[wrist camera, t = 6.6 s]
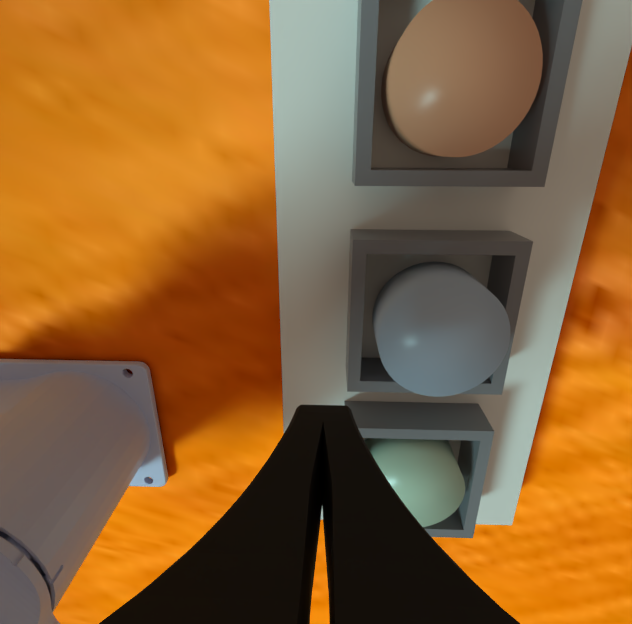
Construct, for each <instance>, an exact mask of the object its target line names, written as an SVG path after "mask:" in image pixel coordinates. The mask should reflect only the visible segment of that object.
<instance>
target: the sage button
mask: <svg viewBox="0 0 632 624" xmlns="http://www.w3.org/2000/svg"><path fill="white" fill-rule="evenodd" d="M365 443H366V445H367V447H368V449H369V451H370V452H371V454H372V456H373V458H374V459H375V461H376V463H377V464H378V466H379V468H380V469H381V471H382V472H383V474H384V476H385V477H386V479H387V480H388V482H389V483H390V485H391V486H392V488H393V489H394V491H395V492H396V493H397V495H398V496H399V498H400V499H401V500H402V502H403V503H404V504H405V506H406V507H407V508H408V510H409V511H410V512H411V513H412V515H413V516H414V517H415V518H416V520H417V521H418V522H419V523H420V525H421V526H422V527H426V526H430V525H433V524H436V523H438V522H441V521H443V520H444V519H446V518H447V517H449V516H450V515H451V514H453V513H454V512H455V511H456V510H457V508H458V507H459V506H460V504H461V502H462V500H463V498H464V494H465V482H464V478H463V476H462V473H461V471H460V468H459V466H458V463H457V461H456V458H455V456H454V453H453V451H452V448H451V446H450V444H449V441H448V440H428V439H386V438H368V439H367V440H366V441H365Z"/></svg>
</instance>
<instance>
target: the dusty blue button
mask: <svg viewBox="0 0 632 624" xmlns="http://www.w3.org/2000/svg"><path fill="white" fill-rule="evenodd" d="M372 323H373V329H374V334H375V338H376V342H377V346H378V351H379V355H380V358H381V361H382V364H383V366H384V368H385V370H386V371H387V373H388V374H389V375H390V376H391V377H392V379H393V380H394V381H396V382H397V383H398V384H399V385H401V386H402V387H404V388H405V389H407V390H409V391H412V392H414V393H417V394H420V395H425V396H434V397H441V396H451V395H455V394H459V393H462V392H465V391H468V390H470V389H472V388H474V387H476V386H478V385H479V384H481V383H482V382H484V381H485V380H486V379H487V378H489V377H490V376H491V375H492V374H493V373H494V372H495V371H496V369H497V368H498V367H499V365H500V364H501V362H502V361H503V359H504V357H505V355H506V352H507V350H508V346H509V343H510V335H511V334H510V322H509V318H508V315H507V312H506V310H505V308H504V307H503V305H502V304H501V302H500V301H499V300H498V298H497V297H496V296H494V295H493V294H492V293H491V292H490V291H489V290H488V289H487V288H486V287H485V286H483V285H482V284H481V283H480V282H479V281H478V280H477V279H476V278H475V277H473V276H472V275H471V274H470V273H469V272H467V271H466V270H464V269H462V268H461V267H459V266H456V265H453V264H450V263H445V262H436V261H434V262H424V263H419V264H416V265H412V266H410V267H408V268H405V269H404V270H402V271H400V272H399V273H397V274H396V275H395V276H393V277H392V278H391V279H390V280H389V281H388V282H387V283H386V284H385V285H384V287H383V288H382V289H381V291H380V293H379V294H378V296H377V299H376V301H375V304H374V308H373V314H372Z"/></svg>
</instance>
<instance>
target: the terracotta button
mask: <svg viewBox="0 0 632 624" xmlns="http://www.w3.org/2000/svg"><path fill="white" fill-rule="evenodd" d="M542 66H543V53H542V44H541V40H540V36H539V32H538V30H537V27H536V25H535V22H534V20H533V19H532V17H531V15H530V14H529V12H528V11H527V10H526V9H525V7H524V6H523V5H522V4H521V3H520V2H519V1H518V0H433V1H431V2H430V3H429V4H427V5H426V6H425V7H424V8H423V9H422V10H421V11H420V12H419V13H418V14H417V15H416V16H415V17H414V18H413V20H412V21H411V22H410V23H409V25H408V26H407V28H406V30H405V31H404V33H403V34H402V36H401V37H400V39H399V41H398V42H397V44H396V45H395V47H394V49H393V50H392V52H391V54H390V56H389V58H388V61H387V64H386V66H385V69H384V74H383V78H382V86H381V99H382V107H383V111H384V115H385V117H386V120H387V122H388V124H389V126H390V128H391V130H392V131H393V133H394V134H395V135H396V137H397V138H398V139H399V140H400V141H401V142H402V143H403V144H405V145H406V146H407V147H409V148H410V149H412V150H414V151H416V152H419V153H421V154H425V155H429V156H442V157H466V156H471V155H475V154H478V153H481V152H484V151H486V150H488V149H490V148H492V147H494V146H495V145H497V144H498V143H500V142H501V141H503V140H504V139H505V138H506V137H508V136H509V135H510V134H511V133H512V132H513V131H514V130H515V129H516V128H517V127H518V125H519V124H520V123H521V121H522V120H523V119H524V117H525V116H526V114H527V113H528V111H529V109H530V107H531V105H532V103H533V101H534V99H535V96H536V94H537V91H538V88H539V84H540V80H541V74H542Z"/></svg>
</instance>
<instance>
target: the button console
mask: <svg viewBox="0 0 632 624" xmlns="http://www.w3.org/2000/svg"><path fill="white" fill-rule="evenodd" d="M431 1H433V0H269V2H270V32H271V62H272V92H273V122H274V152H275V182H276V212H277V242H278V272H279V302H280V332H281V362H282V392H283V422H284V433H285V431H286V429H287V428H288V426H289V424H290V422H291V420H292V418H293V415H294V413H295V410H296V408H297V407H298V406H299V405H345V406H348V407H349V408H350V409H351V411H352V414H353V417H354V420H355V422H356V425H357V427H358V429H359V431H360V433H361V435H362V437H363V439H364V441H366V440H367V439H368V438H386V439H428V440H448V441H449V444H450V446H451V448H452V451H453V453H454V456H455V458H456V461H457V463H458V466H459V468H460V471H461V473H462V476H463V478H464V482H465V494H464V498H463V500H462V502H461V504H460V506H459V507H458V508H457V510H456V511H455V512H454V513H453V514H451V515H450V516H449V517H447V518H446V519H444V520H443V521H441V522H438V523H436V524H433V525H430V526H426V527H423V528H424V529H425V530H426V532H427V533H428V534H429V535H430V536H431V537H456V538H473V534H474V529H475V524H489V525H512V522H513V518H514V514H515V510H516V506H517V502H518V498H519V494H520V490H521V486H522V482H523V478H524V474H525V470H526V466H527V462H528V458H529V454H530V450H531V446H532V442H533V438H534V434H535V430H536V426H537V422H538V418H539V414H540V410H541V406H542V402H543V398H544V394H545V390H546V386H547V382H548V378H549V374H550V370H551V366H552V362H553V358H554V354H555V350H556V346H557V342H558V338H559V334H560V330H561V326H562V322H563V318H564V314H565V310H566V306H567V302H568V298H569V294H570V290H571V286H572V282H573V278H574V274H575V270H576V267H577V263H578V259H579V255H580V251H581V247H582V243H583V239H584V235H585V231H586V227H587V223H588V219H589V215H590V211H591V207H592V203H593V199H594V195H595V191H596V187H597V183H598V179H599V175H600V171H601V167H602V163H603V159H604V155H605V151H606V147H607V143H608V139H609V135H610V131H611V127H612V123H613V119H614V115H615V111H616V107H617V103H618V99H619V95H620V91H621V87H622V83H623V79H624V75H625V71H626V67H627V63H628V59H629V55H630V51H631V47H632V0H518V1H519V2H520V3H521V4H522V5H523V6H524V7H525V9H526V10H527V11H528V12H529V14H530V15H531V17H532V19H533V20H534V22H535V25H536V27H537V30H538V32H539V36H540V40H541V44H542V53H543V66H542V74H541V80H540V84H539V88H538V91H537V94H536V96H535V99H534V101H533V103H532V105H531V107H530V109H529V111H528V113H527V114H526V116H525V117H524V119H523V120H522V121H521V123H520V124H519V125H518V127H517V128H516V129H515V130H514V131H513V132H512V133H511V134H510V135H509V136H508V137H506V138H505V139H504V140H503V141H501V142H500V143H498V144H497V145H495V146H494V147H492V148H490V149H488V150H486V151H484V152H481V153H478V154H475V155H471V156H466V157H442V156H429V155H425V154H421V153H419V152H416V151H414V150H412V149H410V148H409V147H407V146H406V145H405V144H403V143H402V142H401V141H400V140H399V139H398V138H397V137H396V135H395V134H394V133H393V131H392V130H391V128H390V126H389V124H388V122H387V120H386V117H385V115H384V111H383V107H382V99H381V86H382V78H383V74H384V69H385V66H386V64H387V61H388V58H389V56H390V54H391V52H392V50H393V49H394V47H395V45H396V44H397V42H398V41H399V39H400V37H401V36H402V34H403V33H404V31H405V30H406V28H407V26H408V25H409V23H410V22H411V21H412V20H413V18H414V17H415V16H416V15H417V14H418V13H419V12H420V11H421V10H422V9H423V8H424V7H425V6H426V5H427V4H429V3H430V2H431ZM434 261H436V262H445V263H450V264H453V265H456V266H459V267H461V268H462V269H464V270H466V271H467V272H469V273H470V274H471V275H472V276H473V277H475V278H476V279H477V280H478V281H479V282H480V283H481V284H482V285H483V286H485V287H486V288H487V289H488V290H489V291H490V292H491V293H492V294H493V295H494V296H496V297H497V298H498V300H499V301H500V302H501V304H502V305H503V307H504V308H505V310H506V312H507V315H508V318H509V322H510V334H511V335H510V343H509V346H508V350H507V352H506V355H505V357H504V359H503V361H502V362H501V364H500V365H499V367H498V368H497V369H496V371H495V372H494V373H493V374H492V375H491V376H490V377H489V378H487V379H486V380H485V381H484V382H482V383H481V384H479V385H478V386H476V387H474V388H472V389H470V390H468V391H465V392H462V393H459V394H455V395H451V396H441V397H434V396H425V395H420V394H417V393H414V392H412V391H409V390H407V389H405V388H404V387H402V386H401V385H399V384H398V383H397V382H396V381H394V380H393V379H392V377H391V376H390V375H389V374H388V373H387V371H386V370H385V368H384V366H383V364H382V361H381V358H380V355H379V351H378V346H377V342H376V338H375V334H374V329H373V323H372V314H373V308H374V304H375V301H376V299H377V296H378V294H379V293H380V291H381V289H382V288H383V287H384V285H385V284H386V283H387V282H388V281H389V280H390V279H391V278H392V277H393V276H395V275H396V274H397V273H399V272H400V271H402V270H404V269H405V268H408V267H410V266H412V265H416V264H419V263H424V262H434ZM321 519H323V508H322V511H321Z"/></svg>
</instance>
